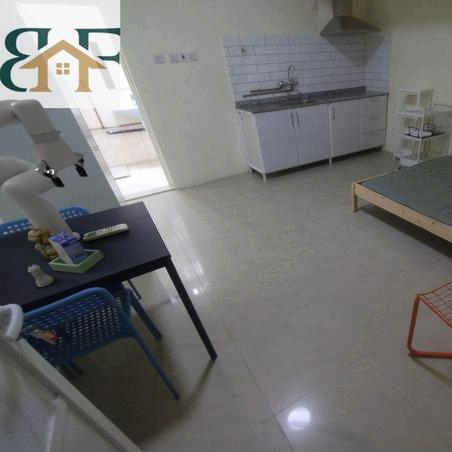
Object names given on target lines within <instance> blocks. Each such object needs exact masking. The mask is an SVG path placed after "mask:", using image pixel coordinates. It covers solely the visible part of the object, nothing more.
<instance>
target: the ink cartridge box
mask: <svg viewBox="0 0 452 452" xmlns="http://www.w3.org/2000/svg"><path fill="white" fill-rule="evenodd" d="M61 232H62V233H61ZM48 240H49V241H50V243H51V244H52V246H53V247H54V248H55V250H56V251H57V253H58V254H59V256H60V257H61V259H62V260H63V261H64V263H65V264H74V265H78V264H80V263H81V262H83V261H84V260H85V259H87V258H88V257H89V256H88V255H87V253H86V252H85V250H84V249H85V248H84V247H83V246H82V244H81V242H80V240H78V239H77V238H76V237H75V236H72V235H69V234H67V233H65V231H63V230H61V229H60V232H59V234H57V235H55V236H53V237H50V238H48Z"/></svg>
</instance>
